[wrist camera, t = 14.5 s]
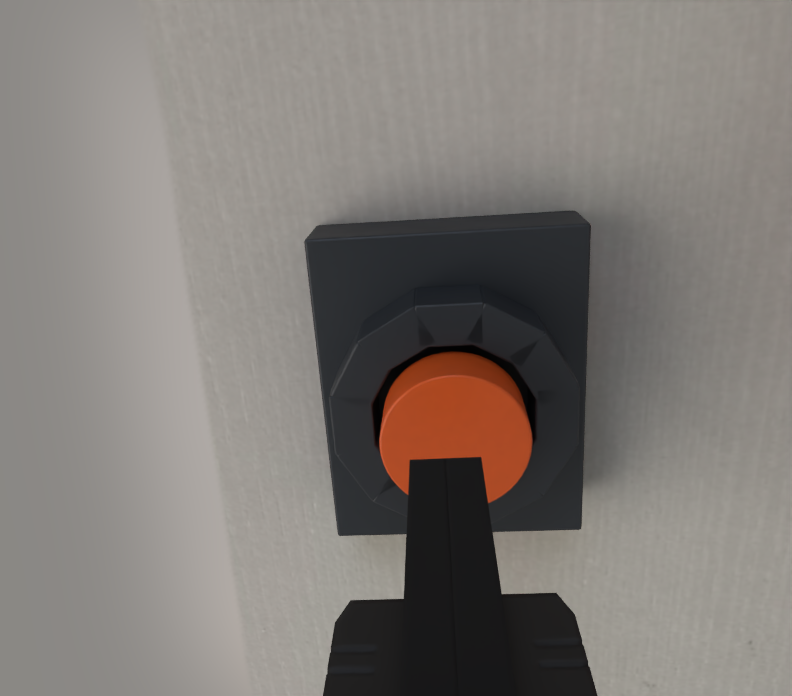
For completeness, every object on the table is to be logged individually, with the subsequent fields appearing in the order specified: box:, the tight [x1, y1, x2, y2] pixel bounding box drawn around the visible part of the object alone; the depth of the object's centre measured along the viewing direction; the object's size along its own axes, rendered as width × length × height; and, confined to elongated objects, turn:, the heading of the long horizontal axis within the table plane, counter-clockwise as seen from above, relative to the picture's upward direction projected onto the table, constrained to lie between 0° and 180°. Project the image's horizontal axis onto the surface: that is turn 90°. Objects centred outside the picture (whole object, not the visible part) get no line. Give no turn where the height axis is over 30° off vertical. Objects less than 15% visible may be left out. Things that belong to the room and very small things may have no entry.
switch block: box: [304, 211, 591, 536], centre depth 21 cm, size 10×8×4 cm
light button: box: [379, 351, 532, 503], centre depth 19 cm, size 4×4×2 cm
